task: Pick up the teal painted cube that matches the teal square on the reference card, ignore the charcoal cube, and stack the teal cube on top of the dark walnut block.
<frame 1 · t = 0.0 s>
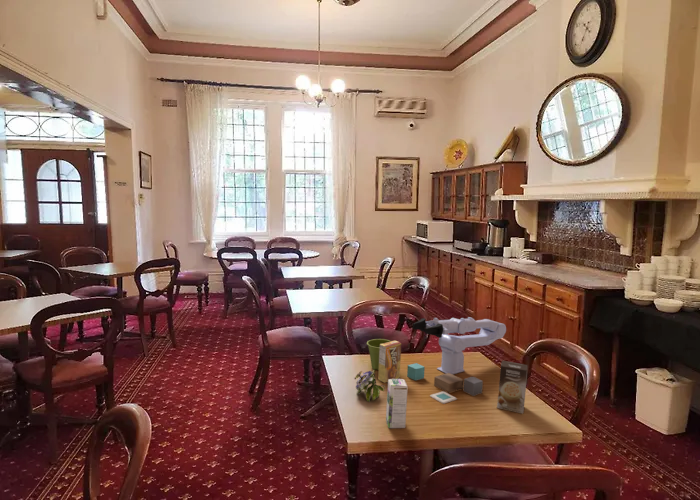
hand: (419, 328, 179), 22 cm above the table, tool horizontal, fingers open, 7 cm apart
teal cube: (415, 377, 184), on the table
walnut block: (448, 387, 175), on the table
syrup box: (395, 424, 145), on the table
passion flower: (369, 395, 166), on the table
coffee box: (510, 408, 159), on the table
reference card: (443, 397, 165), on the table
charcoal cube: (472, 392, 171), on the table
candy box: (389, 379, 181), on the table
plant pot: (379, 368, 193), on the table
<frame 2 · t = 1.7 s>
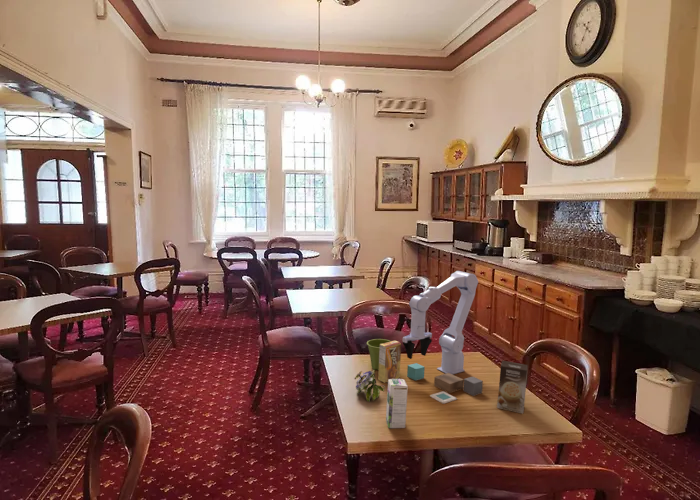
hand: (416, 356, 183), 9 cm above the table, tool pointing down, fingers open, 7 cm apart
nothing on the table moved.
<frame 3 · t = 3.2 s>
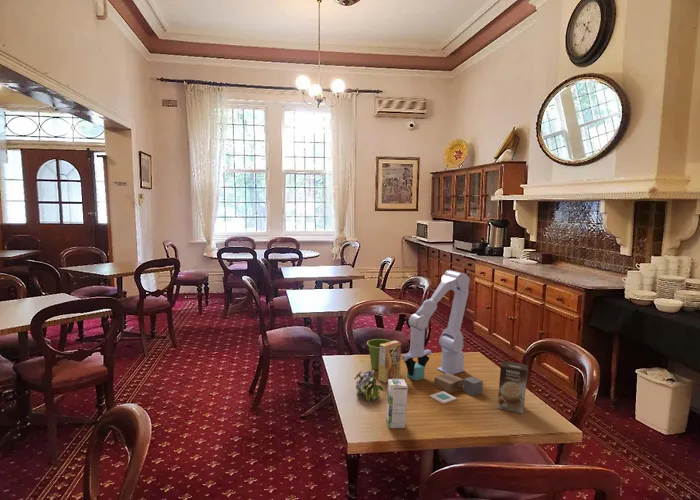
hand: (415, 374, 184), 1 cm above the table, tool pointing down, fingers closed on teal cube, 5 cm apart
teal cube: (415, 377, 184), on the table, touching gripper
everything else where it was.
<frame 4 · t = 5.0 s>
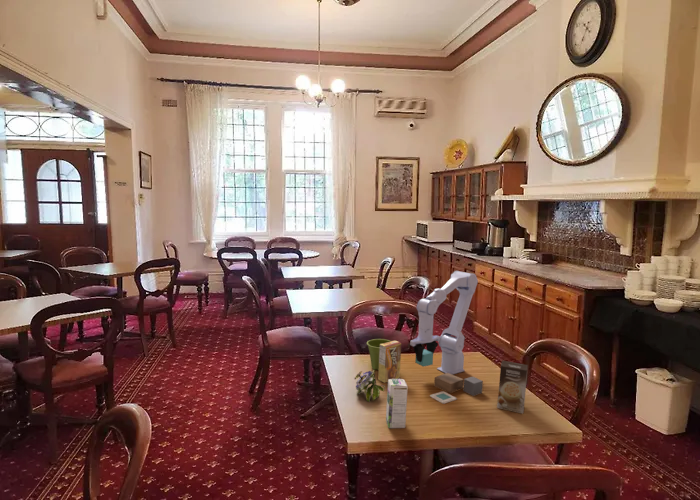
hand: (424, 360, 181), 8 cm above the table, tool pointing down, fingers closed on teal cube, 5 cm apart
teal cube: (423, 363, 181), point 7 cm above the table, touching gripper
everything else where it was.
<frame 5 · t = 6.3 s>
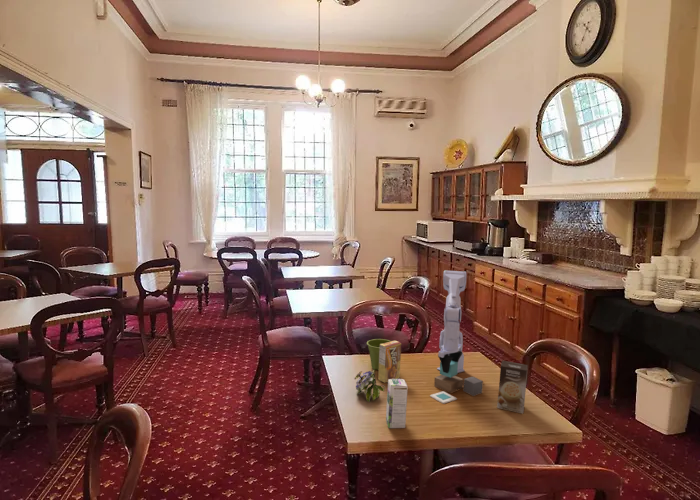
hand: (449, 370, 174), 7 cm above the table, tool pointing down, fingers closed on teal cube, 5 cm apart
teal cube: (448, 374, 174), point 5 cm above the table, touching gripper
everything else where it was.
when the fingers open (7 cm above the table, at t = 6.9 s): teal cube drops 2 cm, resting on walnut block.
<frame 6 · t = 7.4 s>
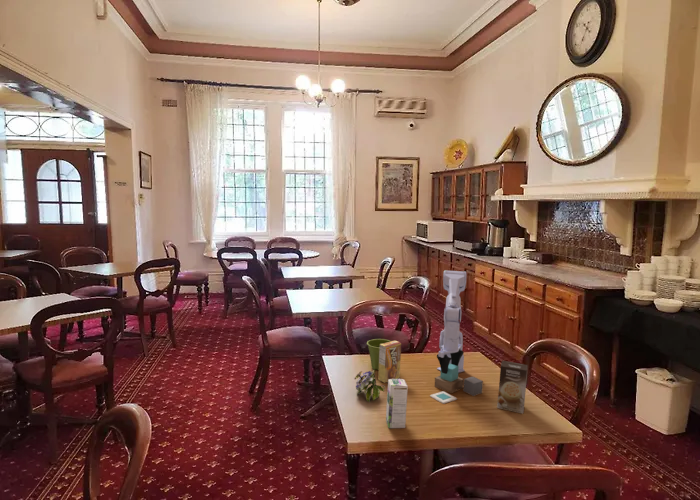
hand: (449, 370, 174), 7 cm above the table, tool pointing down, fingers open, 7 cm apart
teal cube: (449, 378, 175), point 4 cm above the table, touching walnut block
walnut block: (448, 387, 175), on the table, touching teal cube
everything else where it was.
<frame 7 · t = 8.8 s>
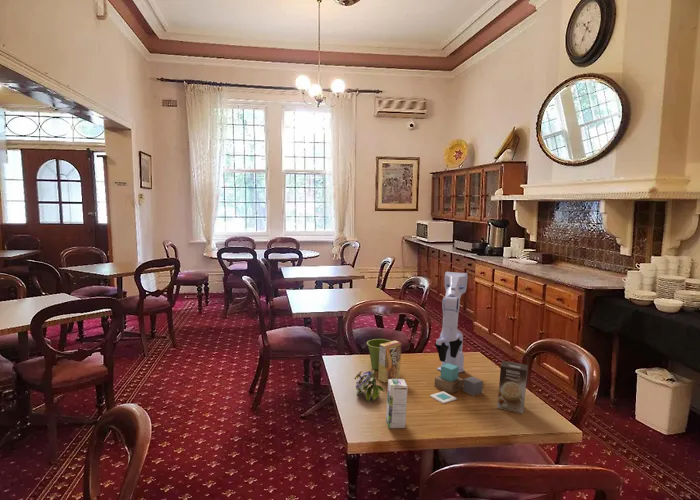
hand: (447, 359, 177), 10 cm above the table, tool pointing down, fingers open, 7 cm apart
teal cube: (449, 378, 174), point 4 cm above the table
walnut block: (448, 388, 175), on the table
everything else where it was.
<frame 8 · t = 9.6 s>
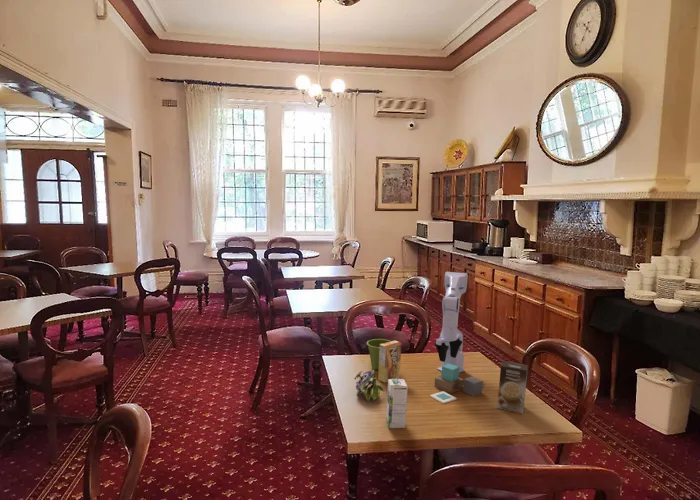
hand: (447, 359, 177), 10 cm above the table, tool pointing down, fingers open, 7 cm apart
teal cube: (449, 378, 174), point 4 cm above the table, touching walnut block
walnut block: (448, 388, 175), on the table, touching teal cube
everything else where it was.
at the end: teal cube 0.3 cm off-centre on the walnut block, point 4.0 cm above the walnut block's base; teal cube tilted 0°; charcoal cube moved 0.1 cm from its start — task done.
